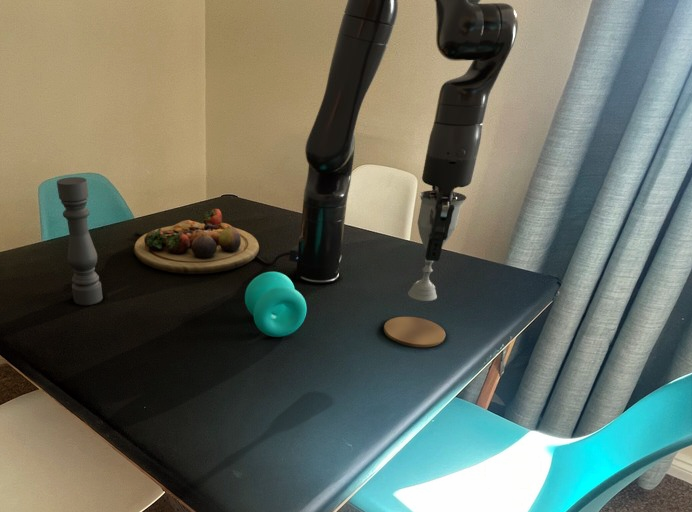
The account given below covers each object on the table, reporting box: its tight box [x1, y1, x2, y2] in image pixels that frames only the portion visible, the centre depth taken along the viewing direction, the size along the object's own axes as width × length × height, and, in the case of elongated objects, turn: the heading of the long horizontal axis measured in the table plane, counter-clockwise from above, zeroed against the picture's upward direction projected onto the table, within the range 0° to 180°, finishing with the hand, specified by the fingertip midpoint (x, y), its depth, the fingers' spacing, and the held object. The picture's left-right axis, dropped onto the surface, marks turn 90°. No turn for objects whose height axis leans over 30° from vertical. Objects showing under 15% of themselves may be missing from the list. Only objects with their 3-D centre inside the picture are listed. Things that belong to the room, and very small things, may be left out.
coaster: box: [383, 316, 446, 348], centre depth 105 cm, size 11×11×1 cm
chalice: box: [407, 189, 467, 302], centre depth 96 cm, size 7×7×18 cm
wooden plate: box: [133, 208, 260, 275], centre depth 140 cm, size 32×32×8 cm
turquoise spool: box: [244, 271, 308, 338], centre depth 105 cm, size 10×10×10 cm
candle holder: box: [56, 176, 104, 306], centre depth 113 cm, size 6×6×25 cm
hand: (431, 253), depth 97 cm, fingers closed on chalice, 5 cm apart
